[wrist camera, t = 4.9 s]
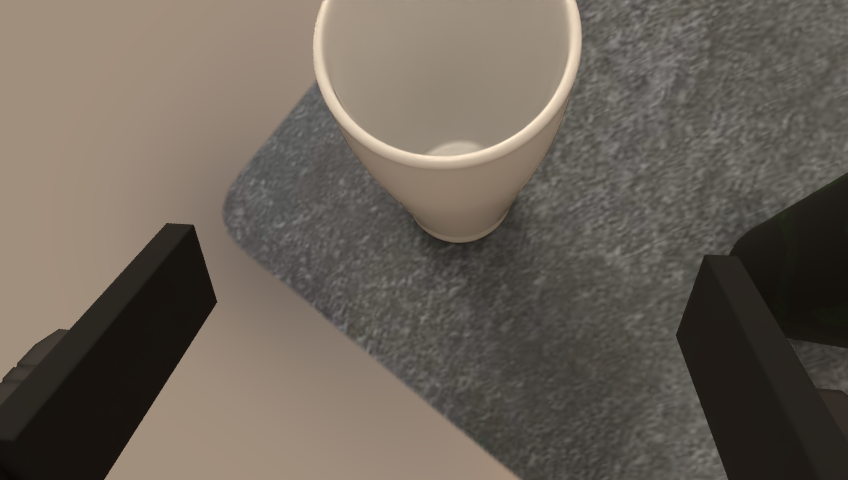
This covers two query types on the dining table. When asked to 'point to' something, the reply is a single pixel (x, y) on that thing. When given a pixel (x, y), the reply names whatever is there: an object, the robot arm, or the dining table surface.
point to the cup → (804, 265)
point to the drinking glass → (449, 98)
